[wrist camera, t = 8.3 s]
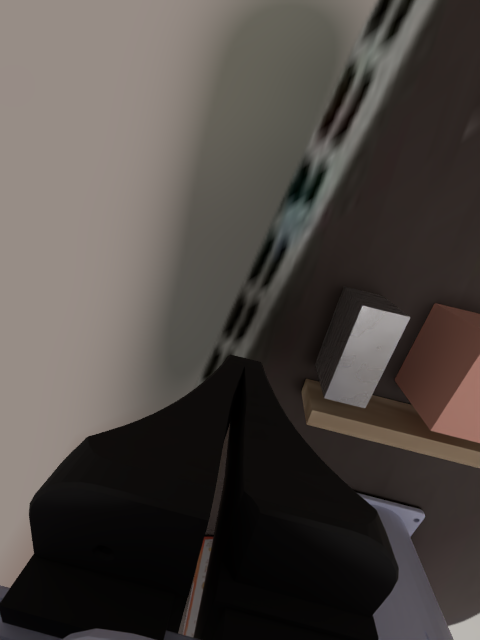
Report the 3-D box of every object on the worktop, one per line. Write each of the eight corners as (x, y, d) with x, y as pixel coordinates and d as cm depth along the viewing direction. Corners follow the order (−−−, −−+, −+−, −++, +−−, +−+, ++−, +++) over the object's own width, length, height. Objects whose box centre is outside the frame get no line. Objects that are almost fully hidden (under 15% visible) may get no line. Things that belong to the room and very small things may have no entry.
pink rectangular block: (448, 393, 20) (502, 448, 15) (393, 379, 20) (430, 430, 15) (496, 317, 17) (577, 356, 13) (434, 302, 17) (491, 335, 13)
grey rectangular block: (348, 371, 20) (365, 408, 16) (314, 363, 20) (324, 398, 16) (381, 295, 18) (410, 317, 14) (343, 286, 18) (362, 305, 14)
